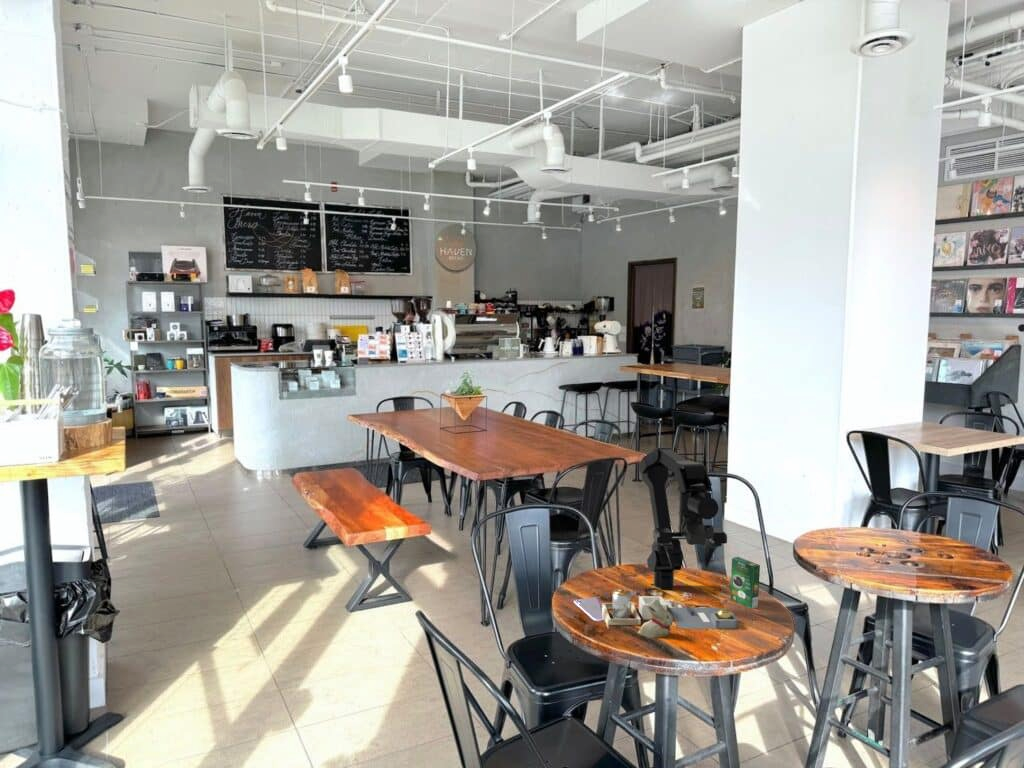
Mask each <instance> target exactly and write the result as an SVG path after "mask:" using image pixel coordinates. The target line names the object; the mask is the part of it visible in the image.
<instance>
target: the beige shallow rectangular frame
mask: <svg viewBox="0 0 1024 768" xmlns="http://www.w3.org/2000/svg"><path fill="white" fill-rule="evenodd" d="M601 606H602V612H603V615H604V618H605V620H604V622H605V624H606V627H607V630H609V631H610V630H611V627H610V626H642V625H641V623H642V622H641V621H642V620H641V619H642V618H641V617H640V615H639V613H638V611H637V609H636V607H635V605H634V603H633V602H630V611H631V613H632V615H633V618H629V619H615V618H611V617H610V614H609V611H608V610H612V606H613V602H602V603H601Z"/></svg>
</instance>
